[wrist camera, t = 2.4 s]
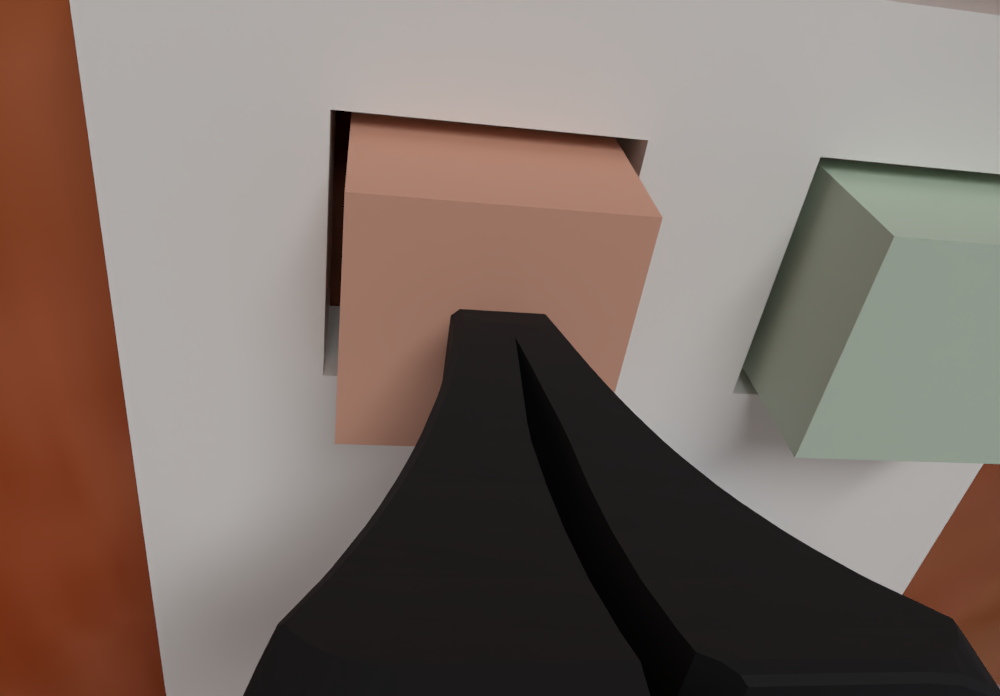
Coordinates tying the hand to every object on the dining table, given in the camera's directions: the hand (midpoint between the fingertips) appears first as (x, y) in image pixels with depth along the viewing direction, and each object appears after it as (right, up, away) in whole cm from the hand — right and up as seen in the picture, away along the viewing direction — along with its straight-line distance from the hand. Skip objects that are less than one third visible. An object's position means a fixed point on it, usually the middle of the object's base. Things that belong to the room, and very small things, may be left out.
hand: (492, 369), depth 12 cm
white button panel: (+2, 0, +7) cm, 7 cm away
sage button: (+7, +2, +4) cm, 9 cm away
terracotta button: (0, +2, +3) cm, 4 cm away
